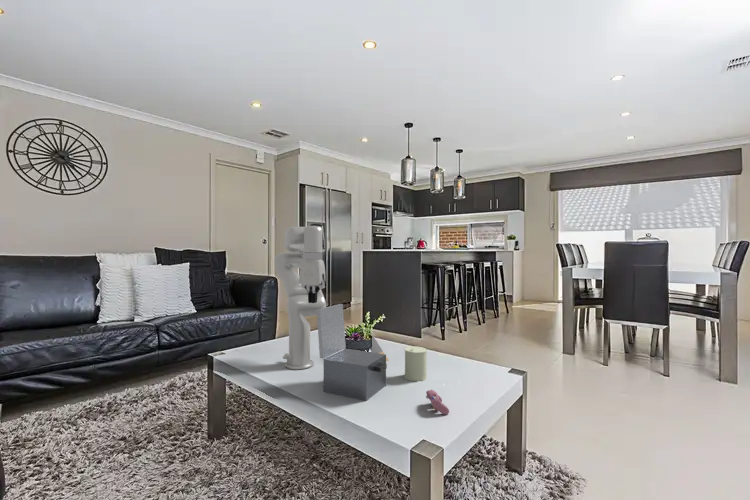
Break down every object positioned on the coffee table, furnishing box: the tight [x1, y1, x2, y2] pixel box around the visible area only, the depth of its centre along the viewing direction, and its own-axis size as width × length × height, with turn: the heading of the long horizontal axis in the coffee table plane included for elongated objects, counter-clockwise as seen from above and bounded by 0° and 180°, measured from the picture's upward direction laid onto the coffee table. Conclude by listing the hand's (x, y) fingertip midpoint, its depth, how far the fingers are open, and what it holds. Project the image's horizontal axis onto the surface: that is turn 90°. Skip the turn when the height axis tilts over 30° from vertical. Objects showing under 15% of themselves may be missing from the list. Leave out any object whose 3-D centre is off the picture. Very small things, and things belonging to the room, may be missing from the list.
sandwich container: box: [372, 334, 390, 362], centre depth 173 cm, size 9×15×15 cm, turn 48°
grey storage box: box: [322, 348, 388, 402], centre depth 136 cm, size 21×16×12 cm
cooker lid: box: [316, 303, 347, 359], centre depth 141 cm, size 18×16×3 cm
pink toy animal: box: [425, 388, 450, 415], centre depth 119 cm, size 10×5×7 cm, turn 5°
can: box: [403, 346, 428, 382], centre depth 149 cm, size 9×9×12 cm
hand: (312, 302), depth 145 cm, fingers closed
